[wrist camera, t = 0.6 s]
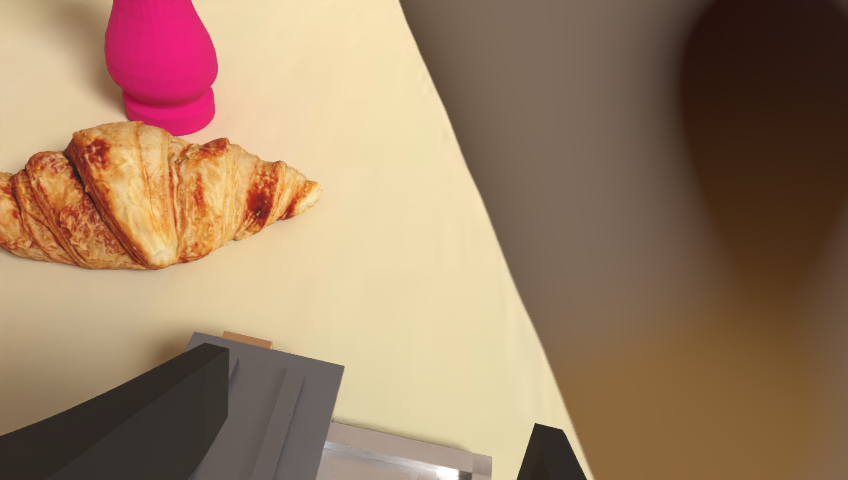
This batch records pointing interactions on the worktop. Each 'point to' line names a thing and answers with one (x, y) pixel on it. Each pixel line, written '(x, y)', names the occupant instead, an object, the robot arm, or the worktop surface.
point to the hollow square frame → (309, 427)
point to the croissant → (143, 199)
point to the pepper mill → (162, 63)
